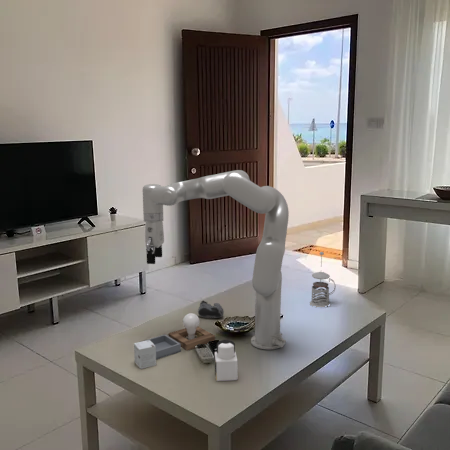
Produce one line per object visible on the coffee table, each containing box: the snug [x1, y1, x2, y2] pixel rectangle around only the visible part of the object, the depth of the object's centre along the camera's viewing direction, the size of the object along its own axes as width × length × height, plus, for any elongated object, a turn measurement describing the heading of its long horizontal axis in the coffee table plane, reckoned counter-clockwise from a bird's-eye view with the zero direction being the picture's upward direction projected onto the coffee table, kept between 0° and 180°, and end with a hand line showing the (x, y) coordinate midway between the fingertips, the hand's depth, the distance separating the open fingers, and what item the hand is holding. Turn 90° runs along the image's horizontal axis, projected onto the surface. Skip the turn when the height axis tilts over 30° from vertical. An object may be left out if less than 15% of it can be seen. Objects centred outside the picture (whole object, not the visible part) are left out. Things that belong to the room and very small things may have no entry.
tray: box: [140, 334, 182, 361], centre depth 185 cm, size 11×11×3 cm
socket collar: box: [167, 326, 216, 352], centre depth 194 cm, size 13×13×2 cm
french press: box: [309, 251, 336, 308], centre depth 230 cm, size 10×12×25 cm
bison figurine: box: [197, 300, 225, 319], centre depth 219 cm, size 12×7×10 cm
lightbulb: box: [182, 312, 200, 340], centre depth 193 cm, size 6×6×11 cm
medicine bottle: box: [214, 339, 239, 382], centre depth 166 cm, size 7×7×12 cm
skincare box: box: [133, 339, 157, 370], centre depth 175 cm, size 6×6×7 cm
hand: (154, 260), depth 194 cm, fingers open, 9 cm apart
